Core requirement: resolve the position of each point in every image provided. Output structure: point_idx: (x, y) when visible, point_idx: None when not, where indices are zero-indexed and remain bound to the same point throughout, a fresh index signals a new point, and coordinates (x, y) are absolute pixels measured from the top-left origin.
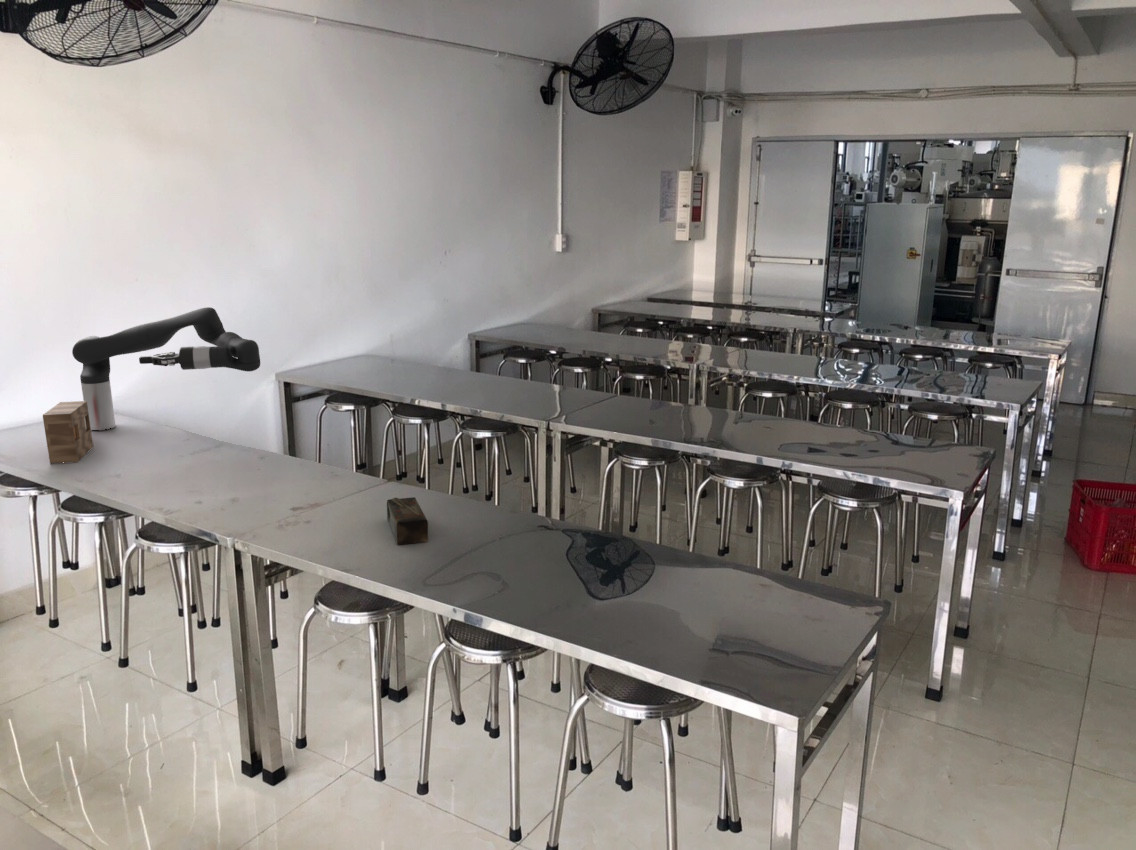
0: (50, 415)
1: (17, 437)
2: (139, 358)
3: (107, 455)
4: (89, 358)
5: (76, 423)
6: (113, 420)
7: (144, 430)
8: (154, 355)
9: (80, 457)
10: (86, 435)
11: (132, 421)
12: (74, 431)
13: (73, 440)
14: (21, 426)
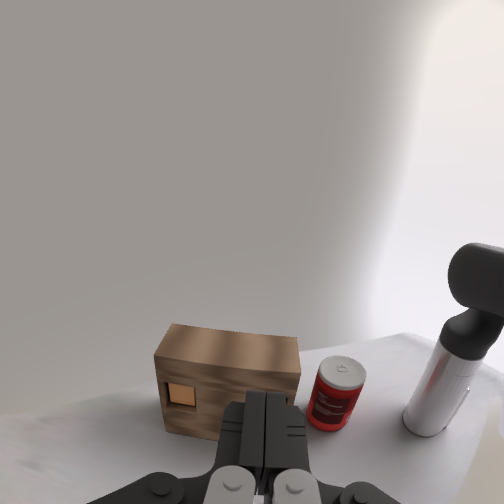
0: (167, 332)
1: (359, 348)
2: (246, 394)
3: (198, 475)
4: (459, 290)
5: (187, 385)
6: (434, 427)
7: (415, 494)
8: (287, 487)
9: (186, 433)
10: None
11: (469, 443)
12: (191, 394)
13: (161, 400)
14: (409, 339)
